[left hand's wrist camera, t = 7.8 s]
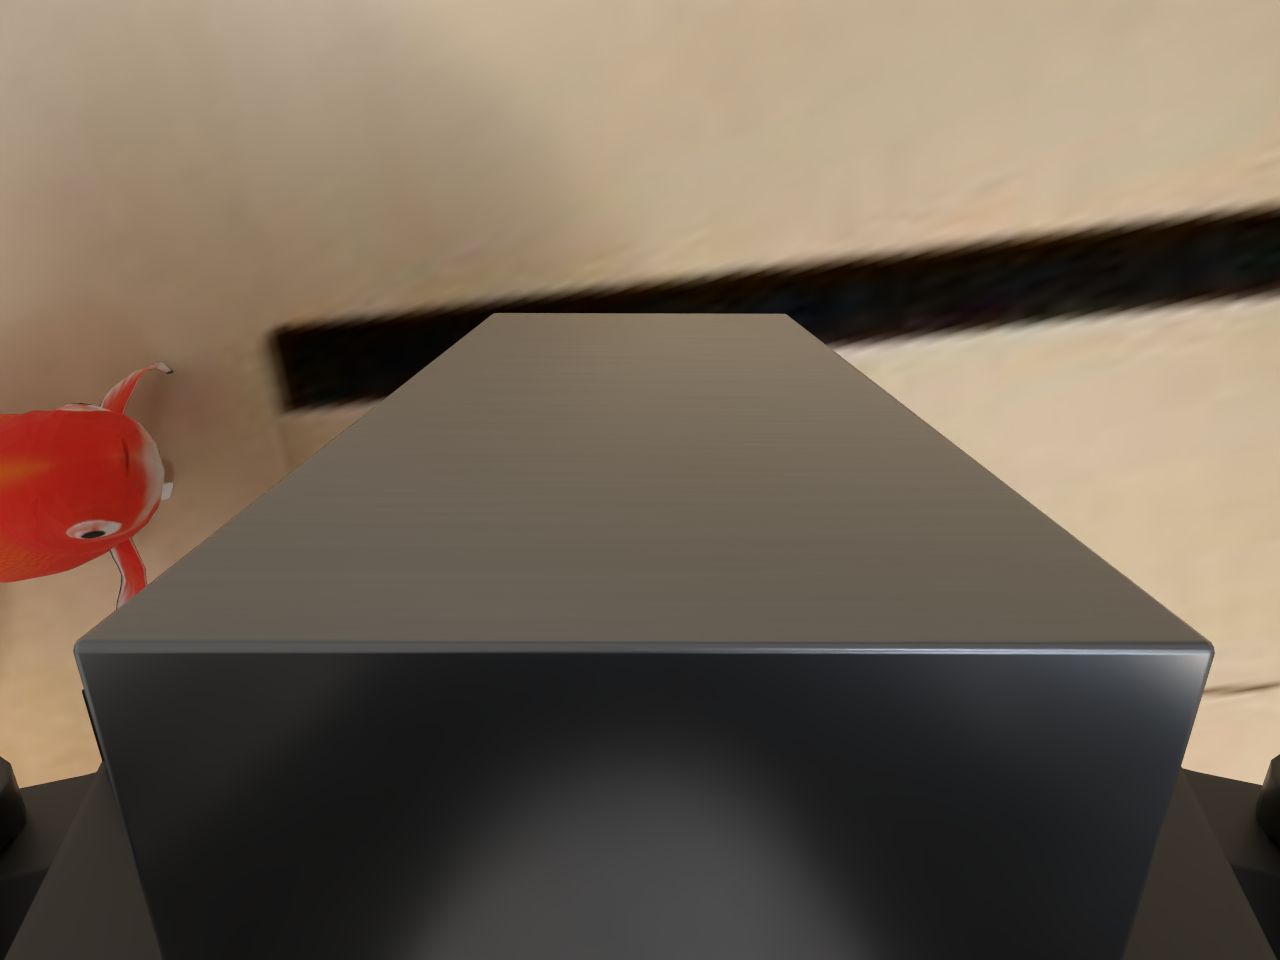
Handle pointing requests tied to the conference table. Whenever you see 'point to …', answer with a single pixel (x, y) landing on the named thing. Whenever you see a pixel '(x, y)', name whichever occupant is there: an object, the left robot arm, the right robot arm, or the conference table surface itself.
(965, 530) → the box
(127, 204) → the conference table surface
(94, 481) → the fish
